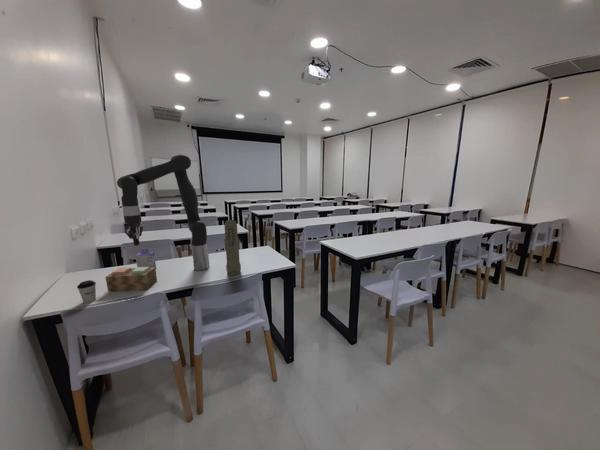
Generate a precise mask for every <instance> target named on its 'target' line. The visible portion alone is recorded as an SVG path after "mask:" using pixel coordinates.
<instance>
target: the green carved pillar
mask: <svg viewBox="0 0 600 450" xmlns="http://www.w3.org/2000/svg"><path fill="white" fill-rule="evenodd" d="M223 228H224V234H225V235H224V248H225V254H226V255H225V257H226V266H225V267H226V275H227V276H229V277H236V276H239V275H241V274H242V272H241V271H242V267H241V265H242V264H241V263H240V238H239V234H238V224H237V222H236V220H235V219H227V220H226V221H225V222H224V227H223Z"/></svg>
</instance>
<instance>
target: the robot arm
mask: <svg viewBox="0 0 600 450" xmlns="http://www.w3.org/2000/svg"><path fill="white" fill-rule="evenodd" d="M191 166H192V161H191V158H190V157H189V156H187V155H186V154H177V155H173V156H172V157H171V158H170V160H168V161H167V162H163V163H160V164H157V165H154V166H150V167H146V168H145V169H142V170H138V171H137V172H133V173H130V174H126V175H123V176H120V177H119V178H118V179H117V181H116V185H117V186H118V187H119V188H120V189H121V192H122V196H121V207H122V216H123V220H124V221H123V222H124V224H126V225H127V230H125V231H124V234H126V235H125V236H127V237H128V238H129V240H131V239H132V241H133V245H134V246H135V247H136V246H140V237H142V234H143V230H144V226H141V224H140V223H142V215H141V208H140V206H139V205H140V204H139V200H138V194H139V193H138V192H139V191H138V190H139V189H138V186H140V185H144V184H147V183H150V182H153V181H156V180H158V179H160V178H163V177H165V176H167V175H170V174H172V173H173V174H174V176H175V179H176V184H177V188H178V191H179V195H180V198H181V203H182V205H183V208H184V211H185V214H186V219H187V224H188V225H187V226H188V230H189V232H190V233H191V241H190V242H191V243H190V244H191V251H192V260H193V261H192V263H193V270H194V271H204V270H208V269H209V267H210V257H209V253H208V246H207V240H208V233H207V231H208V230H207V226H206V223H205V222H203V221H201V217H200V214H199V201H198V196H197V192H196V188H195V187H194V185H193V184H192V181H191V180H190V179H189V177H188V173H187V170H188V169H189V168H191Z"/></svg>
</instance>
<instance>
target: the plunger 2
mask: <svg viewBox="0 0 600 450" xmlns="http://www.w3.org/2000/svg"><path fill="white" fill-rule="evenodd" d="M135 268H136V269H134V270H133V271H132V274H144V273H146V272H147V271H148V270H150V269H149V267H138V268H137V267H135Z"/></svg>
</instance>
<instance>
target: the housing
mask: <svg viewBox="0 0 600 450" xmlns="http://www.w3.org/2000/svg"><path fill="white" fill-rule="evenodd" d="M136 268H137V267H133V268H132V267H131V271H129V272H128V273H126V274H123V275H113V274H112V272H111V273H109V274H108V275H106V276H105V283H106V288H107V292H108V293H117V292H118V293H120V292H121V293H122V292H136V291H137V292H139V291H148V290H150V288H152V287H153V286H154V285H155V284H156V283H157V282H158V278H157V270H156V269H157V267H156V268H155V267H152V268H149V269H150V270H148V271H147V272H146V273H144V274H132V271H133V270H134V269H136Z"/></svg>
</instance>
